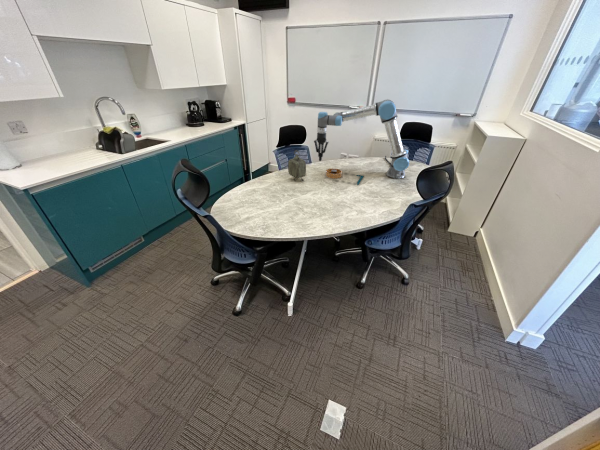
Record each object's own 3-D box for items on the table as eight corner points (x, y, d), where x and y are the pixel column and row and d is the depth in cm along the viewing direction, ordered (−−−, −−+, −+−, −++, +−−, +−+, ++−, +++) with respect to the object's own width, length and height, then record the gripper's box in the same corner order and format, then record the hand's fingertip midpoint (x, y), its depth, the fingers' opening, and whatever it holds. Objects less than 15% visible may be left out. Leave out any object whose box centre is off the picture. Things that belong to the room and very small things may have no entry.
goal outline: (340, 172, 225) (340, 172, 225) (363, 176, 217) (363, 175, 217) (333, 180, 208) (333, 180, 208) (358, 185, 201) (358, 184, 201)
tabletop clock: (305, 181, 207) (306, 151, 193) (296, 184, 202) (296, 153, 189) (296, 176, 217) (296, 147, 203) (287, 178, 212) (286, 149, 199)
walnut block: (331, 174, 219) (331, 169, 217) (336, 174, 219) (336, 169, 216) (331, 176, 216) (331, 171, 213) (336, 176, 215) (336, 171, 213)
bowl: (328, 172, 225) (328, 167, 223) (343, 174, 220) (343, 169, 218) (323, 177, 215) (323, 172, 212) (338, 180, 210) (339, 175, 207)
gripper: (312, 132, 202) (311, 160, 215) (327, 134, 198) (325, 162, 210) (316, 130, 208) (314, 158, 220) (330, 132, 203) (328, 160, 216)
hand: (320, 160), depth 215 cm, fingers closed
